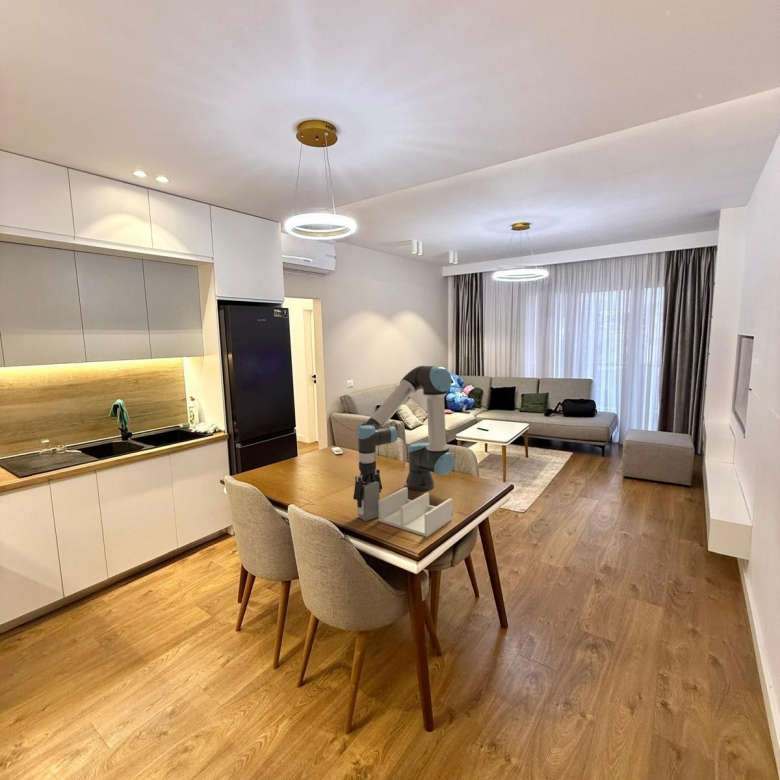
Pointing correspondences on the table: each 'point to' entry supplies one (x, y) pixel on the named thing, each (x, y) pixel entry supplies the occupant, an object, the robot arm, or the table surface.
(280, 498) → the table surface
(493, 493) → the table surface
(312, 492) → the table surface
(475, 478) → the table surface
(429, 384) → the robot arm
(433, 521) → the rack
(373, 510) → the skincare box
